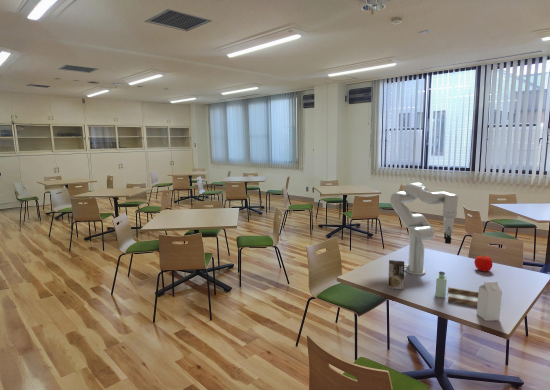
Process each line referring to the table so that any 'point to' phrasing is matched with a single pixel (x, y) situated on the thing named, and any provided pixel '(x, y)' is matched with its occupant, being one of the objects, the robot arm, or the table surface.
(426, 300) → the table surface
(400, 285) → the coffee box
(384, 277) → the table surface
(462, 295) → the brown white flat box
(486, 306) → the milk carton
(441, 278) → the bottle
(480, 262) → the tomato
